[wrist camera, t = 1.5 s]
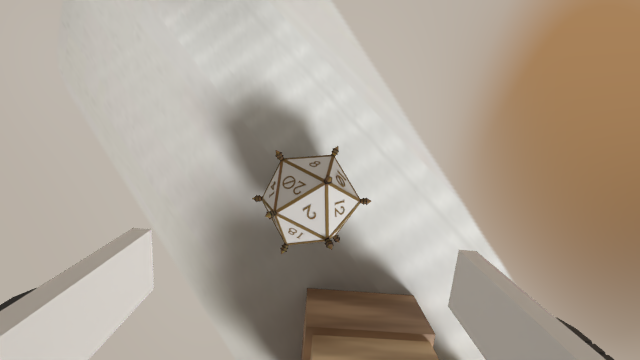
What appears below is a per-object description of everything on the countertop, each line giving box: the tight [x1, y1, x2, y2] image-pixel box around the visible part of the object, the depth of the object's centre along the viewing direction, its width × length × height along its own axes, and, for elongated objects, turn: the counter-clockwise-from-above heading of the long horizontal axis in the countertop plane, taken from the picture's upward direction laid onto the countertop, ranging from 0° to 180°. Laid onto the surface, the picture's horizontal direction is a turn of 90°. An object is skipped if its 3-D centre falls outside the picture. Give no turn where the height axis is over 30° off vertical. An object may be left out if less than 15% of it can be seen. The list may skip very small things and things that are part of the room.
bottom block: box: [301, 288, 435, 360], centre depth 29 cm, size 11×11×6 cm
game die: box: [252, 146, 371, 254], centre depth 25 cm, size 9×8×10 cm
